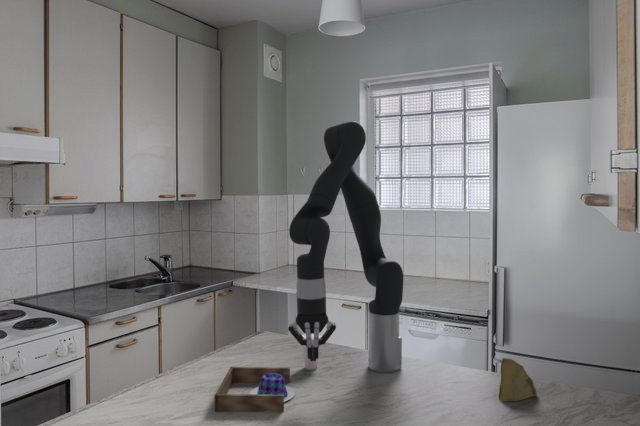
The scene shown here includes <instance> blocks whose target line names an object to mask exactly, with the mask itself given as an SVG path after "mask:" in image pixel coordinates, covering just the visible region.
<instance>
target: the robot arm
mask: <svg viewBox="0 0 640 426" xmlns="http://www.w3.org/2000/svg"><path fill="white" fill-rule="evenodd" d="M366 135H367V134H366V131H365V129H364V127H363V125H362V124H361V123H360V122H358V121H355V120H352V121H351V120H350V121H346V122H342V123H339V124H335V125H333V126H330V127H327V128H326V130H325V131H324V134H323V143H324V148H325V150H326V154H327V156H328V158H329V161H330V163H329V165H328V166H326V167H325V169H324V170H323V171H322V172H321V173H320V175H319V176H318V178H317V179H316V180H315V182H314V183H313V186H312V188H311V191H310V193H309V196H308V198H307V201H306V202H305V203H304V204H303V205H302V207H301V208H300V209H299V210H298V212H297V213H295V214H296V215H295V216H293V218H292V220H291V222H290V225H289V231H288V233H289V238H290V240H291V241H292V242H293V243H295V244H296V245H301V246H304V245H306V246H310V249H309V252H308V253H304V254H301V255H298V257H297V259H296V277H297V278H296V292H295V294H296V311H297V312H296V313H297V316H296V317H295V321H294V322H292V323H290V324H289V325H288V328H287V331H288V332H289V333H290V334H291V335H292V336H293V337H294V339H295V340H296V341H297V342H298V343H299V344H300V346H302V345H305V346H307V351H308V359H310V361H316V359H318V360H319V357H320V356H319V355H318V347H319V346H324V345H325V344H326V343H327V341H328V340H329V339H330V338H331V336H332V335H333V333H334V332H335V331H336V329H337V326H336V325H337V324H336V323H335V322H333V321H330V320H329V316H328V314H327V290H326V280H325V279H326V278H325V259H326V254H327V250H328V245H329V240H330V237H331V236H330V235H331V229H330V225H329V223H328V221H327V220H325V218H326V217H328V216H329V215H330V214H331V213H332V212H333V208H334V207H335V206H334V205H335V204H336V201H337V199H338V196H339V192H340V190H341V193H342V195H343V199H344V203H345V207H346V210H347V212H348V213H347V214H348V216H349V219H350V222H351V225H352V229H353V232H354V236H355V238H356V241H357V244H358V248H359V252H360V257H361V262H362V263H361V264H362V268H363V272H364V276H365V280H366V281H367V283H369V285H371V286H372V287H374V288H375V294H374V295H375V296H374V299H372V300H370V301H369V303H368V359H367V361H368V362H367V363H368V369H369V370H370V371H371V370H372V371H374V372H378V373H385V374H386V373H387V374H388V373H393V372H394V373H395V372H396V371H398V370H400V369H402V360H403V356H402V353H403V351H402V350H403V348H402V347H403V346H402V345H403V344H402V343H403V339H402V337H401V336H400V307H401V306H402V303H403V295H404V293H403V292H404V272H403V271H404V270H403V268H402V265H400V263H399V262H397V261H395V260H392V259H387V257H386V254H385V252H384V249H383V247H382V243H381V226H382V214H381V210H380V206H379V202H378V199H377V196H376V193H375V191H373V189H372V188H371V187H370V186H369V184H368V183H367V182H366V181H365V180H364V179H363V178H362V177H361V176H360V175H359V174H358V173H357V171H356V170H355V168H354V164H356V163H355V162H356V161H357V160H358V159H359V156H360V155H361V153H362V151H363V150H364V148H365V145H366V140H367V136H366ZM325 327H326V330H325V332H324V333H323V334H322V335H321V338H320V339H319V335H320V333H321V332H323V330H324V329H325ZM299 329H300V330H301V331H302V332H303V333H304V334H306V339H304V338H303V336H302V335H303V334H301V333H300V331H299ZM312 333H313V334H314V345H312V340H311V334H312Z"/></svg>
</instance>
